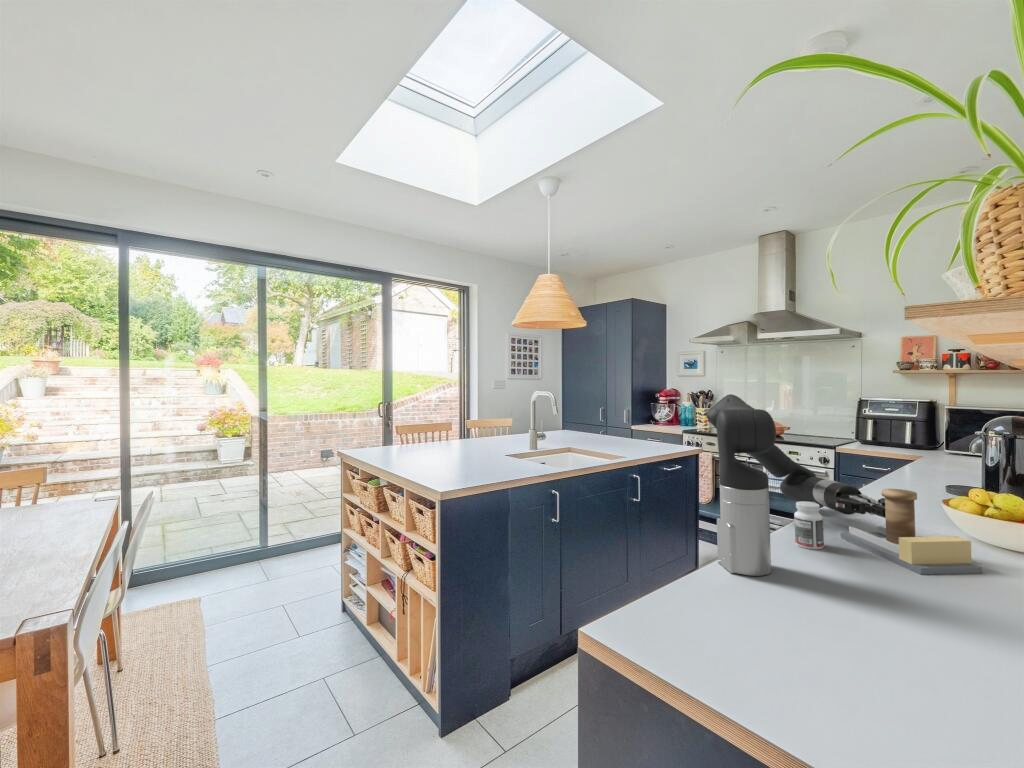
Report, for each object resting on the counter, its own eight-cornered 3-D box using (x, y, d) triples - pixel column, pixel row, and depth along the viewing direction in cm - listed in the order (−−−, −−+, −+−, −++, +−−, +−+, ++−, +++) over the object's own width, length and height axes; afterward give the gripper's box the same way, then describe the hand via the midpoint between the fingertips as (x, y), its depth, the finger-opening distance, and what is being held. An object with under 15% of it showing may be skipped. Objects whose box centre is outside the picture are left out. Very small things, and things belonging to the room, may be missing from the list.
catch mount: (921, 574, 89) (919, 545, 89) (840, 537, 111) (840, 514, 111) (982, 573, 89) (981, 544, 89) (889, 536, 111) (889, 513, 111)
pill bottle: (815, 541, 109) (814, 500, 109) (829, 550, 103) (828, 506, 103) (790, 541, 109) (789, 500, 110) (803, 550, 104) (801, 506, 104)
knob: (898, 551, 98) (896, 495, 98) (876, 541, 104) (874, 489, 104) (926, 550, 98) (924, 494, 98) (902, 541, 104) (901, 488, 104)
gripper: (811, 482, 121) (860, 498, 103) (861, 481, 121) (918, 496, 103) (812, 510, 121) (862, 530, 103) (861, 509, 121) (920, 529, 103)
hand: (890, 513), depth 103 cm, fingers closed
